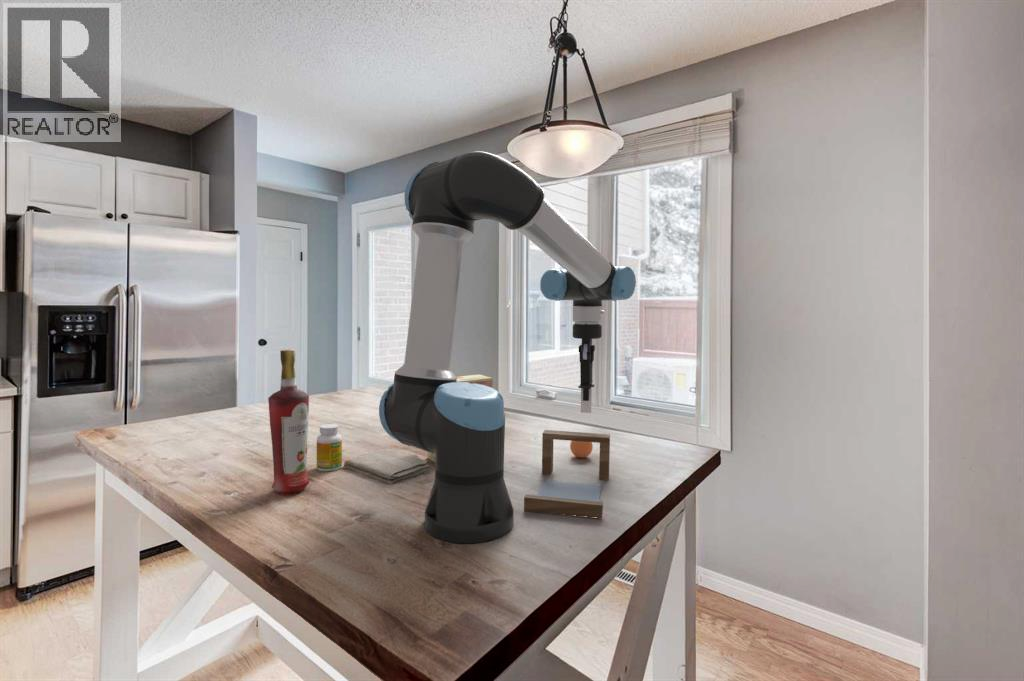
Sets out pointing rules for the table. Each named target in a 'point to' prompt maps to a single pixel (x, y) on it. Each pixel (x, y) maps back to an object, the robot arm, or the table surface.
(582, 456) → the ball
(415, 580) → the table surface
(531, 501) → the stop rail
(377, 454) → the washcloth
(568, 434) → the bridge
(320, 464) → the supplement bottle
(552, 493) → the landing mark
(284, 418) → the liquor
